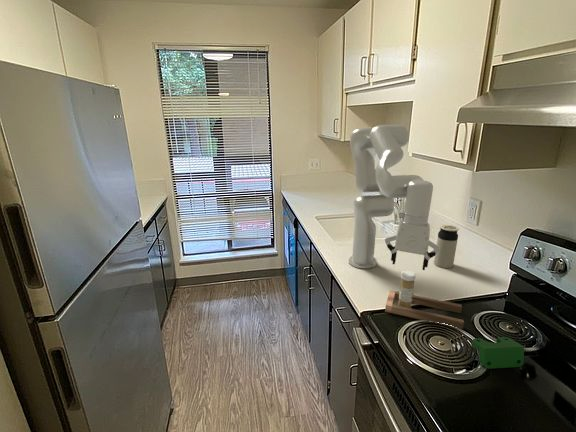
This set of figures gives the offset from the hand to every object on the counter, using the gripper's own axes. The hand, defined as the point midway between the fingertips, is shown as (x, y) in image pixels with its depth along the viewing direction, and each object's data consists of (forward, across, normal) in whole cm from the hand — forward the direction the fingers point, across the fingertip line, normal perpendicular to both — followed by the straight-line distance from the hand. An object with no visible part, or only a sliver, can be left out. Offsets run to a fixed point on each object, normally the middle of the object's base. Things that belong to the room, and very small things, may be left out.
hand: (408, 265), depth 111 cm
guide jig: (+16, +8, -1) cm, 18 cm away
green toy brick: (+15, +26, -18) cm, 35 cm away
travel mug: (+17, +14, +42) cm, 47 cm away
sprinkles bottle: (+16, +1, -1) cm, 16 cm away
